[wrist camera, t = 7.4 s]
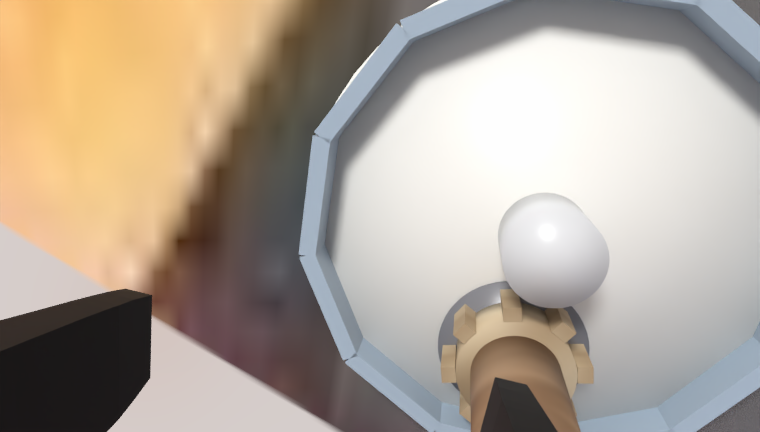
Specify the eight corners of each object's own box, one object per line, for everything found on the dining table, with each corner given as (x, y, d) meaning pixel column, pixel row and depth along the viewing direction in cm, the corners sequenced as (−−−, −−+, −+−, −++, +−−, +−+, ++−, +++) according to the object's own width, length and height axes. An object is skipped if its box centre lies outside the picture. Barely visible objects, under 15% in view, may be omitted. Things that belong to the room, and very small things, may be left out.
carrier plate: (931, 209, 16) (1057, 246, 12) (543, 494, 21) (557, 573, 18) (532, -154, 15) (551, -220, 11) (234, 240, 20) (188, 273, 17)
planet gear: (614, 351, 17) (684, 485, 12) (515, 433, 19) (535, 585, 13) (507, 261, 17) (526, 354, 12) (416, 352, 19) (393, 473, 13)
